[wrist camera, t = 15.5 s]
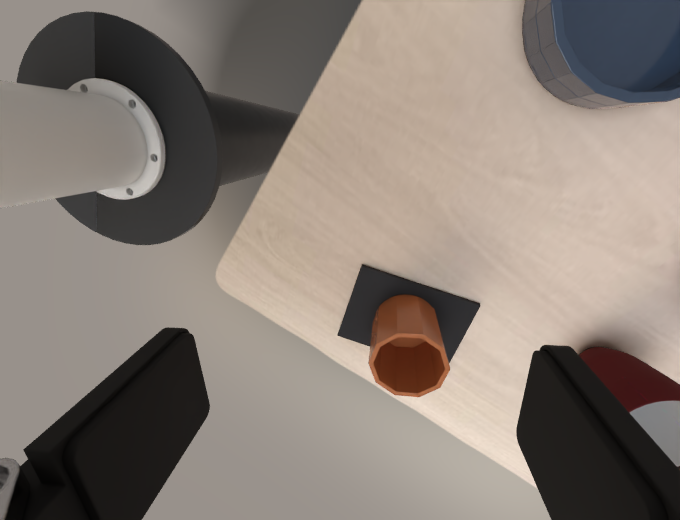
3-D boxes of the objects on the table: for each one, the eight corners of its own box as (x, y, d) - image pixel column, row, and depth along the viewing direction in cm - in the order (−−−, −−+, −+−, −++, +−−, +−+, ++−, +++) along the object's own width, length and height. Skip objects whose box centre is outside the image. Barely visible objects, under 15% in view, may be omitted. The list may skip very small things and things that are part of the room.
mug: (608, 410, 39) (675, 496, 29) (538, 397, 39) (583, 476, 30) (649, 338, 35) (742, 411, 26) (571, 324, 36) (634, 390, 26)
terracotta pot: (366, 337, 40) (360, 383, 32) (386, 284, 37) (385, 321, 29) (422, 356, 39) (429, 407, 32) (447, 305, 36) (462, 347, 29)
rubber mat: (338, 333, 41) (337, 335, 40) (362, 264, 37) (361, 265, 36) (443, 369, 40) (444, 372, 40) (479, 303, 36) (480, 305, 36)
